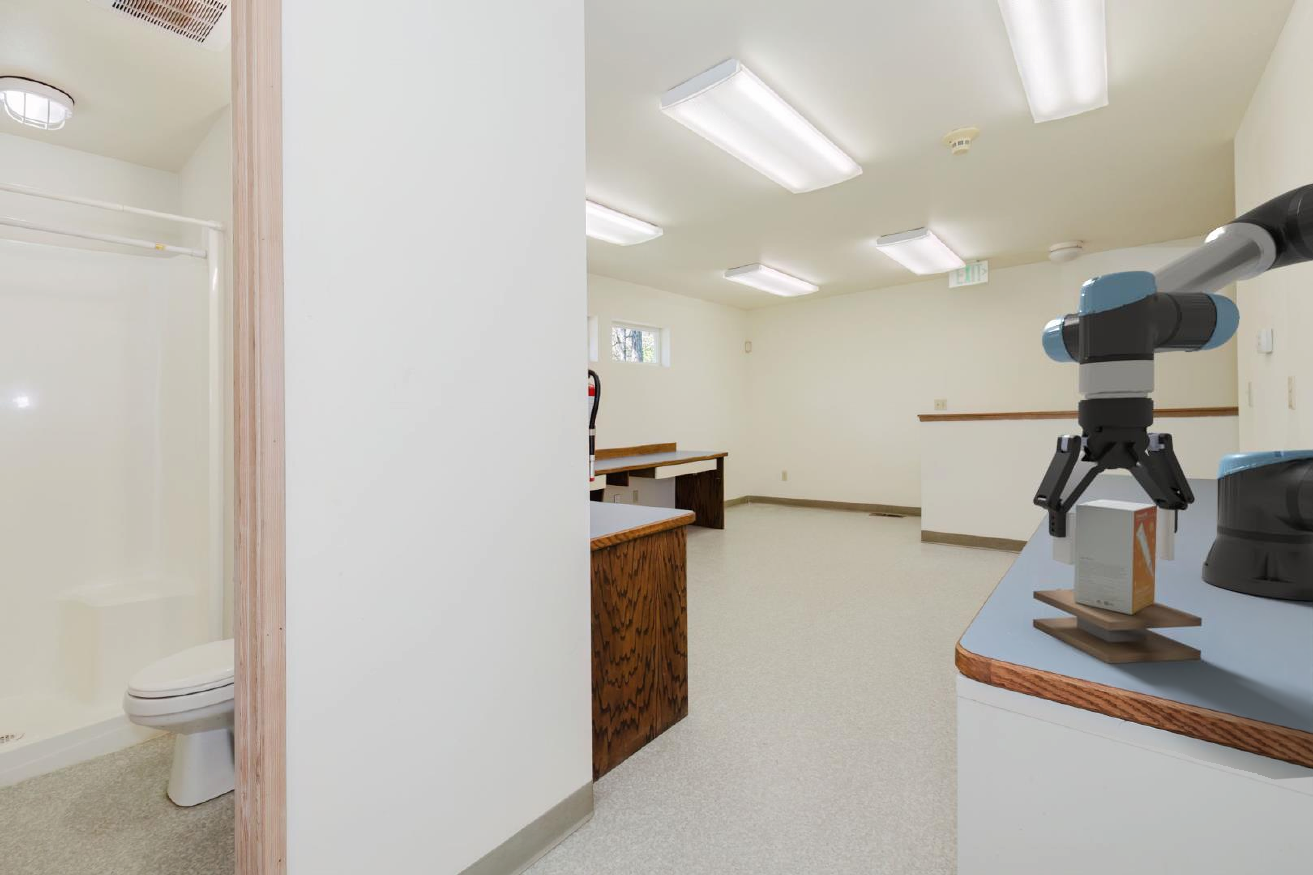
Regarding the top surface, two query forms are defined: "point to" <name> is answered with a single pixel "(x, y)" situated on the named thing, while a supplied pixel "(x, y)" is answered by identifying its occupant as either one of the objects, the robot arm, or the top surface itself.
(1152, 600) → the small box
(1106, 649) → the stand
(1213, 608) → the top surface
